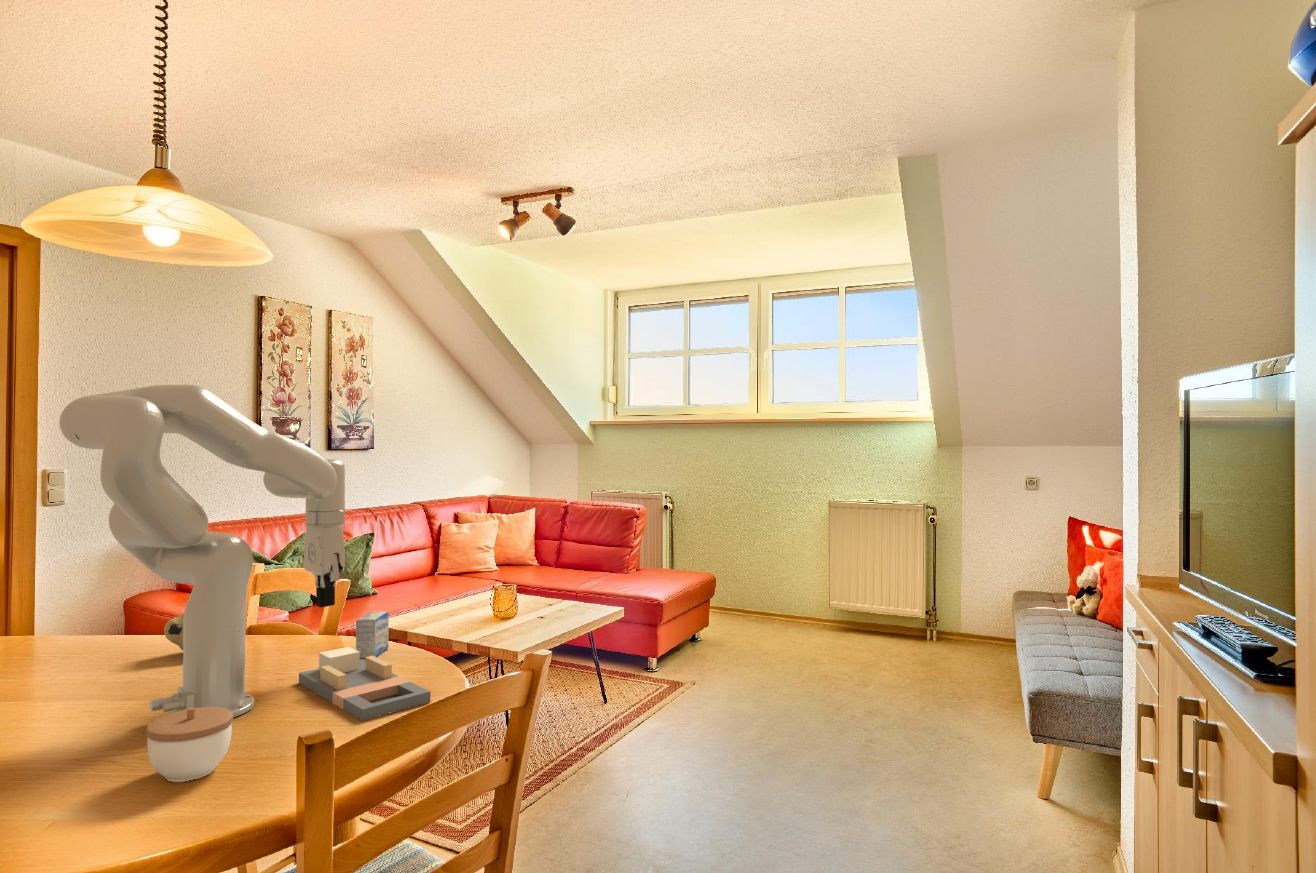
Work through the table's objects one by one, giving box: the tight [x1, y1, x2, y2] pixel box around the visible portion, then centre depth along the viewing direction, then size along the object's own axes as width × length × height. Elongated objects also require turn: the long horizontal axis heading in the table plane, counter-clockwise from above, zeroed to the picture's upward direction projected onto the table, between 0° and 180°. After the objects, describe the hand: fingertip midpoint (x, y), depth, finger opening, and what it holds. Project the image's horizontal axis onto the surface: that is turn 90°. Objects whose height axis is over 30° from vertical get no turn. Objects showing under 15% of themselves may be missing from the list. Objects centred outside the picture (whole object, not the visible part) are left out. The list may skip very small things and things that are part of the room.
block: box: [318, 646, 361, 673], centre depth 150 cm, size 6×5×4 cm
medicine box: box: [355, 611, 390, 659], centre depth 168 cm, size 8×4×9 cm, turn 179°
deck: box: [298, 656, 431, 722], centre depth 143 cm, size 13×28×4 cm, turn 47°
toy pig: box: [163, 612, 184, 651], centre depth 166 cm, size 10×12×11 cm
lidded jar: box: [145, 707, 234, 783], centre depth 109 cm, size 11×11×9 cm
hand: (325, 605), depth 156 cm, fingers closed
